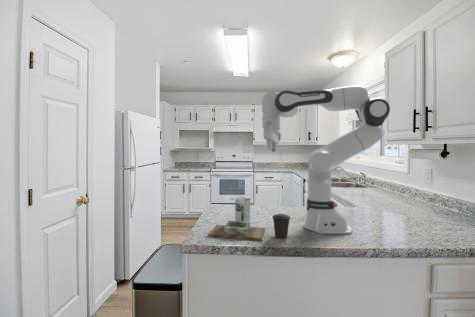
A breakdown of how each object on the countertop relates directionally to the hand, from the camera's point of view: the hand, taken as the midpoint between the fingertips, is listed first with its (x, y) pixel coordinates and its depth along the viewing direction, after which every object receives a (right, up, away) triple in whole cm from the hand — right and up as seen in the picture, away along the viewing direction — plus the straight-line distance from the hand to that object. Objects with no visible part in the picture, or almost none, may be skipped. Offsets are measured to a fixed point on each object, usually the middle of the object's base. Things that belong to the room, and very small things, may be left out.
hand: (271, 150), depth 136 cm
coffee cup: (+2, -39, -14) cm, 42 cm away
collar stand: (-17, -39, -11) cm, 44 cm away
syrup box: (-15, -38, +2) cm, 41 cm away
